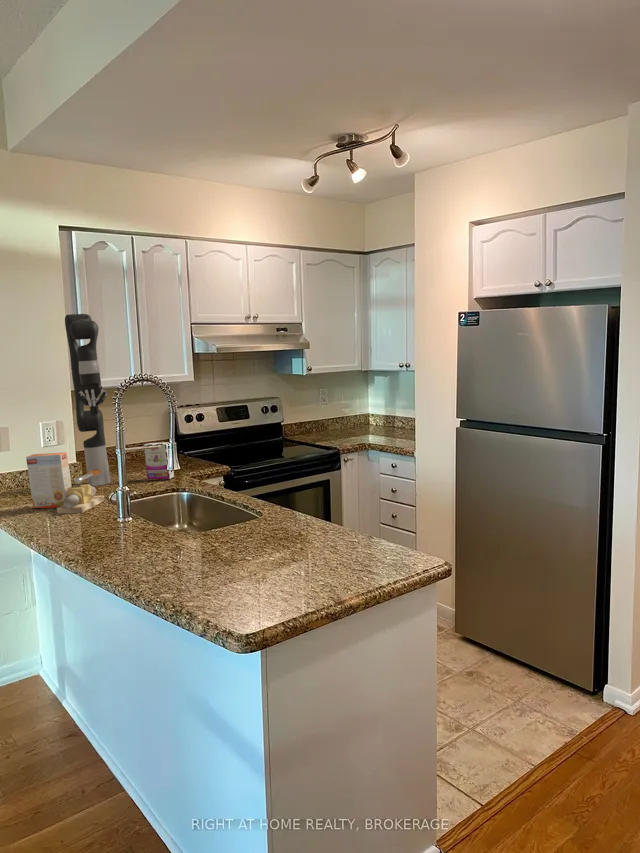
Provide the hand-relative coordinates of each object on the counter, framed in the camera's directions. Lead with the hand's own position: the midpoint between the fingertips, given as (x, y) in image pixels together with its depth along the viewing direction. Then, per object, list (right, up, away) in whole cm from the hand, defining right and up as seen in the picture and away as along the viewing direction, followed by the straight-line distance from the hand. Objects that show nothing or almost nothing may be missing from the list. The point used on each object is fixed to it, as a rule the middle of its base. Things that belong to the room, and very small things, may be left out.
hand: (95, 415), depth 251 cm
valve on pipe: (-2, -35, -9) cm, 36 cm away
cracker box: (-14, -36, -5) cm, 39 cm away
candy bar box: (+18, -28, +32) cm, 46 cm away
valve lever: (-2, -25, -4) cm, 25 cm away
